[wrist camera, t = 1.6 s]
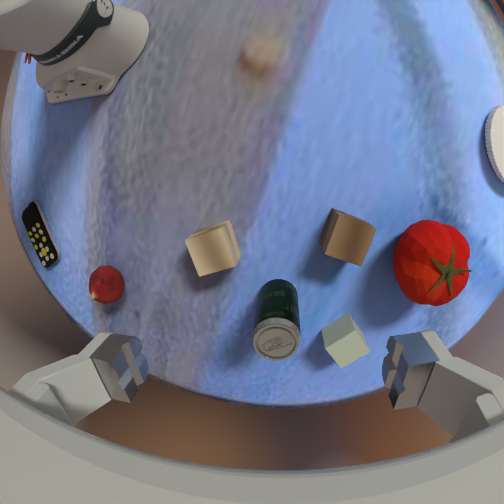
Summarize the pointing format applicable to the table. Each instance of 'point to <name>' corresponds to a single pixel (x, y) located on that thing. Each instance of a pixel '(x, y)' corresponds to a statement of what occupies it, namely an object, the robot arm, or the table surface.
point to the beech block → (214, 248)
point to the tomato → (431, 262)
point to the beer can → (277, 321)
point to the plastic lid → (496, 140)
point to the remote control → (40, 234)
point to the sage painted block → (344, 340)
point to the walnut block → (347, 237)
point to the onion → (106, 284)
